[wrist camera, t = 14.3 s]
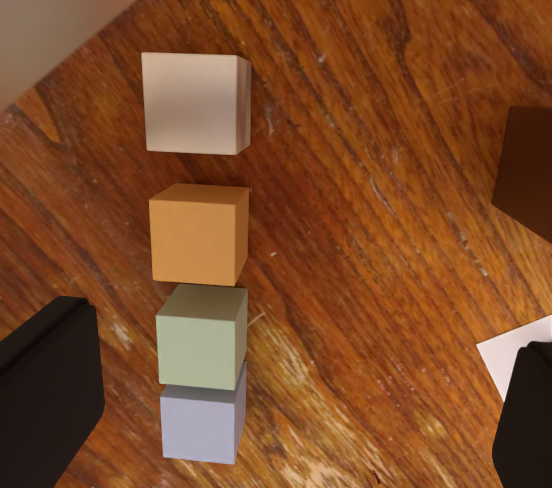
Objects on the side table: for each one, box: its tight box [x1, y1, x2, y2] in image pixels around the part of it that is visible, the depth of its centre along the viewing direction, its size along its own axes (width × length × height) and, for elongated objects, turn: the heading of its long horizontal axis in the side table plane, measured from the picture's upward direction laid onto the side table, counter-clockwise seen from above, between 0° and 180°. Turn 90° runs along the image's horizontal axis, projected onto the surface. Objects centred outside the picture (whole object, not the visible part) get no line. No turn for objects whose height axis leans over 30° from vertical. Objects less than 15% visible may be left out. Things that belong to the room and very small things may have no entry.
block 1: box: [141, 52, 252, 155], centre depth 26 cm, size 5×5×5 cm
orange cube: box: [149, 183, 249, 286], centre depth 29 cm, size 5×5×5 cm
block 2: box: [156, 284, 248, 390], centre depth 31 cm, size 5×5×5 cm
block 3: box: [160, 361, 247, 464], centre depth 33 cm, size 5×5×5 cm
